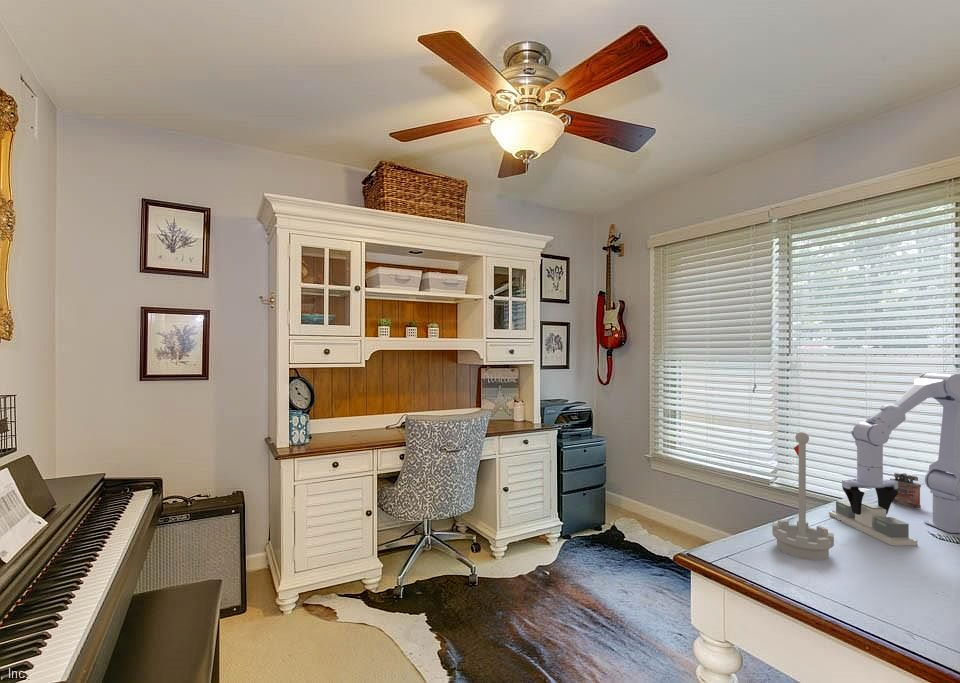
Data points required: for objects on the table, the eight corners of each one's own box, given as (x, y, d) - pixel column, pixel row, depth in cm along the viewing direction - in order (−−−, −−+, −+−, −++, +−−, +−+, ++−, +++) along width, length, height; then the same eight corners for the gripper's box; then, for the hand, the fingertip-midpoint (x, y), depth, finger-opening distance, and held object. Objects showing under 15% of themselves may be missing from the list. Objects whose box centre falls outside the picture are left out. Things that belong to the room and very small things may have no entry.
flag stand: (844, 564, 116) (845, 438, 116) (784, 559, 119) (784, 436, 119) (818, 542, 129) (818, 428, 129) (764, 538, 131) (764, 426, 131)
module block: (868, 520, 140) (868, 501, 140) (886, 528, 134) (886, 508, 134) (854, 520, 140) (854, 501, 140) (871, 528, 134) (871, 508, 134)
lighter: (887, 501, 161) (887, 471, 161) (893, 500, 163) (893, 470, 163) (917, 509, 154) (917, 477, 154) (923, 507, 156) (923, 476, 156)
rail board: (851, 515, 149) (851, 498, 149) (917, 545, 127) (917, 526, 127) (829, 515, 148) (829, 498, 148) (890, 545, 126) (890, 526, 126)
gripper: (883, 461, 142) (883, 508, 142) (833, 462, 141) (833, 508, 141) (904, 468, 135) (904, 517, 135) (852, 468, 134) (852, 517, 134)
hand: (869, 513), depth 138 cm, fingers open, 7 cm apart
